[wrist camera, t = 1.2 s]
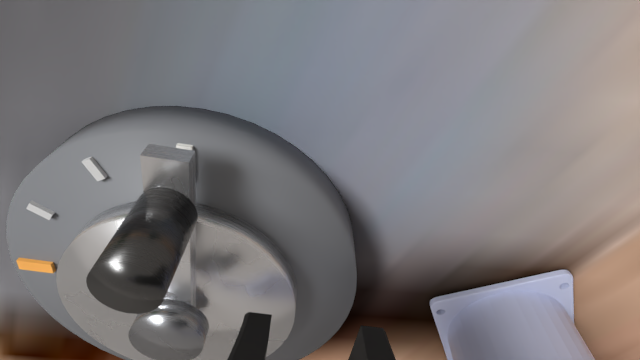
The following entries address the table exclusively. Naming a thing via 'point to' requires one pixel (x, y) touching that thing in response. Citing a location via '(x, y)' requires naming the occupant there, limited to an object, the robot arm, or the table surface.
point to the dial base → (211, 190)
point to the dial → (173, 271)
